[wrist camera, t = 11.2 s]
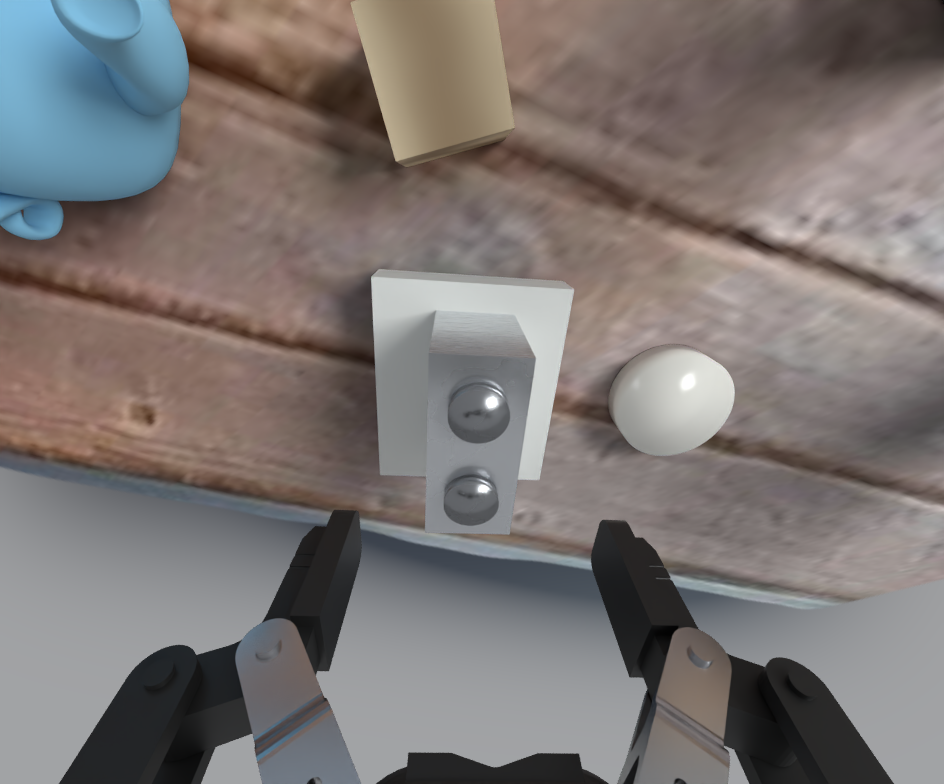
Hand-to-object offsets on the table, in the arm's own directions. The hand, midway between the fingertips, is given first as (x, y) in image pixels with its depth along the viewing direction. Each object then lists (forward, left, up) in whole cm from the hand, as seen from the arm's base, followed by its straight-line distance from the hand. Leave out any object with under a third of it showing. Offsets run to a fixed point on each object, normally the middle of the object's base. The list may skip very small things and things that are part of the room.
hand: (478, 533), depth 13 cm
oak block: (+2, -14, -13) cm, 20 cm away
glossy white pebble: (-13, +1, -13) cm, 18 cm away
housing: (0, 0, -10) cm, 10 cm away
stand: (0, 0, -13) cm, 13 cm away
